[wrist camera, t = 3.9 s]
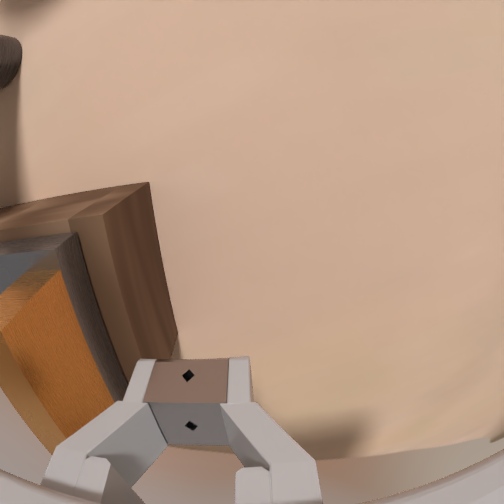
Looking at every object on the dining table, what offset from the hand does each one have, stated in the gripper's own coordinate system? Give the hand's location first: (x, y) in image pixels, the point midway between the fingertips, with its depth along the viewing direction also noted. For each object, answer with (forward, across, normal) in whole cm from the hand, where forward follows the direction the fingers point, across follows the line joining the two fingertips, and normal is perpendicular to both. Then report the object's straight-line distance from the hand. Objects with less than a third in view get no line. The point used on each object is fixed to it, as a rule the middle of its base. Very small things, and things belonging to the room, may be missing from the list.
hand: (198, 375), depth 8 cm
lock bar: (+2, +6, 0) cm, 6 cm away
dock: (+7, +9, 0) cm, 11 cm away
